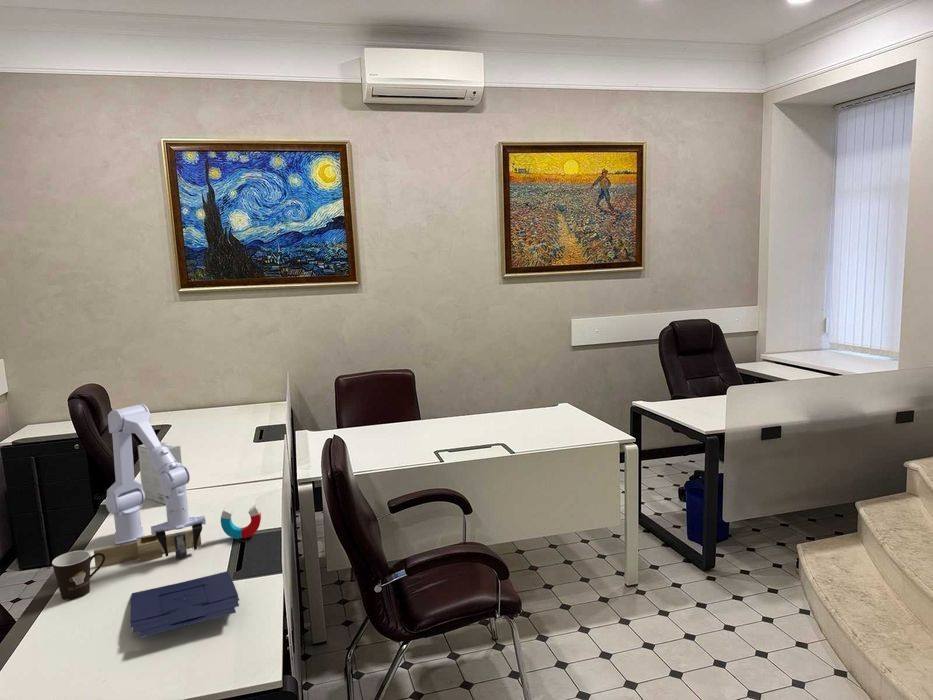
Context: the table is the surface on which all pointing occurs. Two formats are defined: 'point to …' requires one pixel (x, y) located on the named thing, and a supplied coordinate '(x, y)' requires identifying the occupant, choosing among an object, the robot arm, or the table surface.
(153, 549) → the tan wooden bar
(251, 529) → the magnet
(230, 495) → the table surface
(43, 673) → the table surface
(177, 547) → the pin
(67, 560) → the coffee mug
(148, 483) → the hard drive box
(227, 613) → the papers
